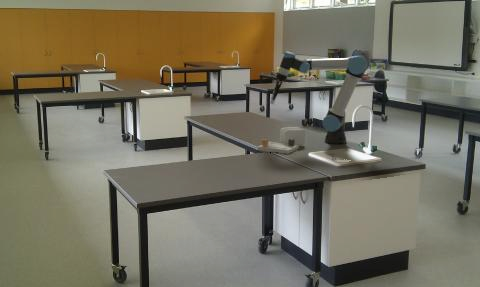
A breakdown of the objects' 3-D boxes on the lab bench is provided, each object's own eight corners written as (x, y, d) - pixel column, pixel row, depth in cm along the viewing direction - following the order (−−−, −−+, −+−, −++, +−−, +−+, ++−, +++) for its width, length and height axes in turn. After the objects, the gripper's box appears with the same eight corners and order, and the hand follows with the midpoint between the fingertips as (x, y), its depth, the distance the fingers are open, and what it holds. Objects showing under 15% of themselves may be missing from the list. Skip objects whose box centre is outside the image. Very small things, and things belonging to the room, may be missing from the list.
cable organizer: (284, 147, 361) (284, 130, 358) (279, 143, 371) (279, 127, 368) (304, 146, 364) (305, 129, 362) (299, 142, 374) (300, 126, 372)
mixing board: (298, 149, 355) (298, 145, 354) (288, 154, 340) (288, 150, 339) (268, 145, 365) (268, 141, 364) (257, 150, 350) (257, 146, 350)
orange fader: (268, 145, 351) (268, 139, 350) (266, 146, 348) (266, 140, 347) (264, 144, 352) (264, 139, 351) (262, 145, 350) (262, 139, 349)
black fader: (294, 144, 354) (294, 138, 353) (292, 145, 351) (292, 139, 350) (290, 144, 355) (290, 138, 354) (288, 145, 353) (288, 139, 352)
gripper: (278, 68, 381) (268, 95, 387) (276, 75, 357) (266, 103, 364) (288, 72, 381) (277, 99, 387) (287, 78, 357) (276, 107, 364)
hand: (272, 101), depth 376 cm, fingers open, 13 cm apart
